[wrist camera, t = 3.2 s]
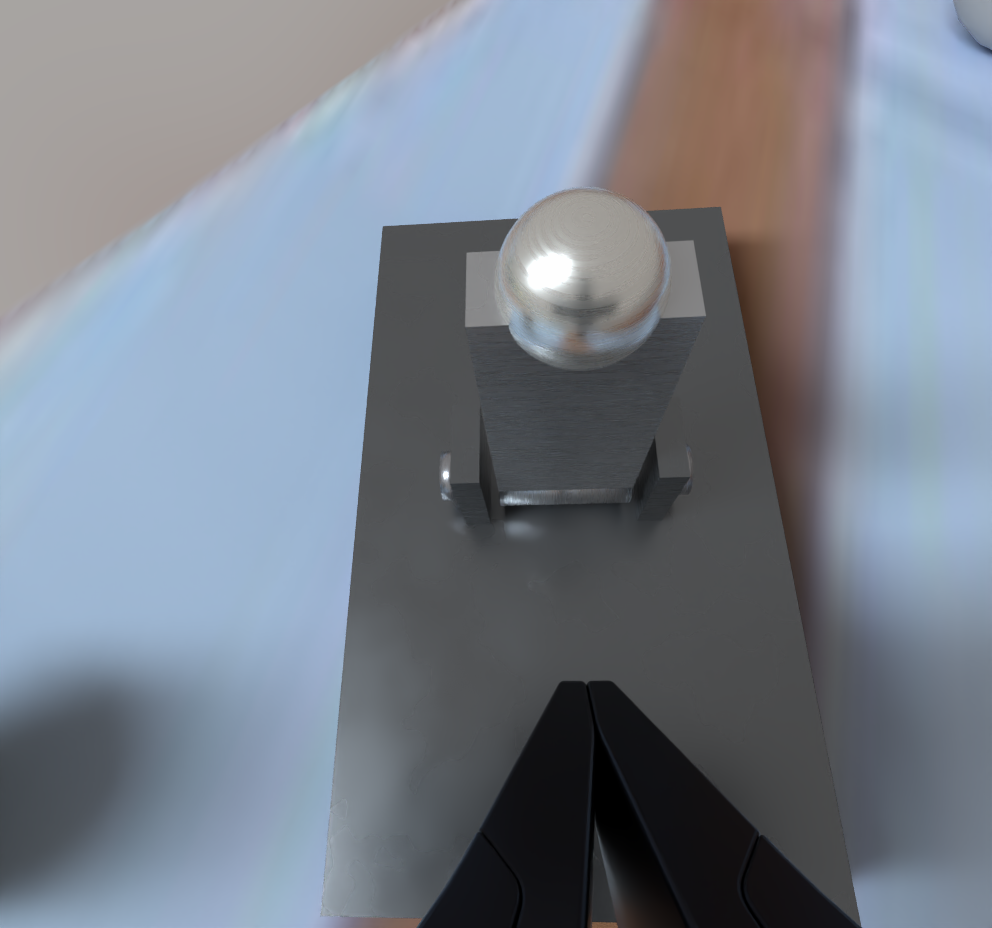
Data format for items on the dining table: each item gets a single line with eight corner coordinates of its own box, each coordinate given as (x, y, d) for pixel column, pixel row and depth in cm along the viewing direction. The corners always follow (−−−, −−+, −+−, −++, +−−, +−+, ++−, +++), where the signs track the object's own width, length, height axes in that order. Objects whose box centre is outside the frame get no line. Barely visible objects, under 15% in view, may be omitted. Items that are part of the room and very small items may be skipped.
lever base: (811, 892, 18) (968, 1002, 11) (353, 884, 18) (252, 982, 12) (701, 258, 27) (753, 116, 20) (398, 274, 28) (355, 143, 21)
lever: (627, 525, 19) (741, 291, 8) (502, 528, 19) (451, 305, 8) (619, 440, 20) (711, 134, 9) (501, 444, 20) (456, 152, 9)
